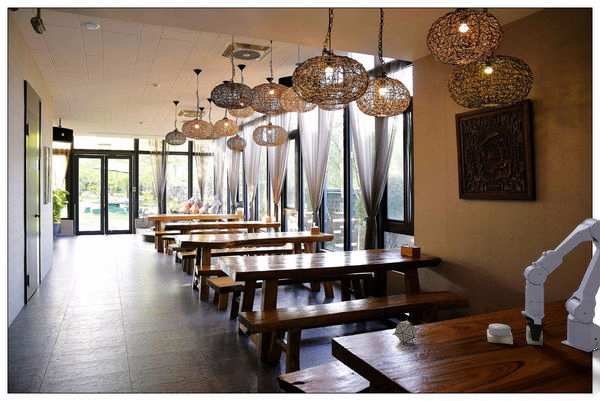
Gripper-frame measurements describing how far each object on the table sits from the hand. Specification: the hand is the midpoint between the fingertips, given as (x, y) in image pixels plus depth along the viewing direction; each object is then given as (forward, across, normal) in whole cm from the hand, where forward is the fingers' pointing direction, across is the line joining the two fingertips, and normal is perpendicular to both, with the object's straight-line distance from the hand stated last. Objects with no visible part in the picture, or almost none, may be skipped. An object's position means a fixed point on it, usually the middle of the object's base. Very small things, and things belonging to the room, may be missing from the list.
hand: (534, 338), depth 157 cm
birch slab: (+2, 0, -11) cm, 11 cm away
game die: (+2, +13, -43) cm, 45 cm away
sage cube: (+1, 0, 0) cm, 1 cm away
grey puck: (0, 0, -11) cm, 11 cm away
